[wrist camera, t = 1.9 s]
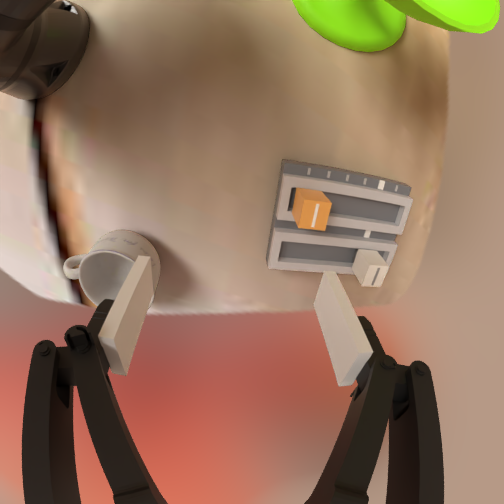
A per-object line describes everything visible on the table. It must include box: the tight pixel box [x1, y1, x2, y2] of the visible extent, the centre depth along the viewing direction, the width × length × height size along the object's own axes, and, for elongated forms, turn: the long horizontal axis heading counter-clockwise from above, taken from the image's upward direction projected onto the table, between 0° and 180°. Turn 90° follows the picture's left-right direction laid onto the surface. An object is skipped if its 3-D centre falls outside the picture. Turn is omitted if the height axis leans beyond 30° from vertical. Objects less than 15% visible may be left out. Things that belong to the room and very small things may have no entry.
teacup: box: [64, 230, 161, 309], centre depth 34 cm, size 14×11×8 cm
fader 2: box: [352, 249, 389, 287], centre depth 35 cm, size 3×3×5 cm
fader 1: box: [292, 188, 332, 231], centre depth 30 cm, size 3×3×5 cm
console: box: [266, 159, 413, 275], centre depth 35 cm, size 14×18×3 cm
